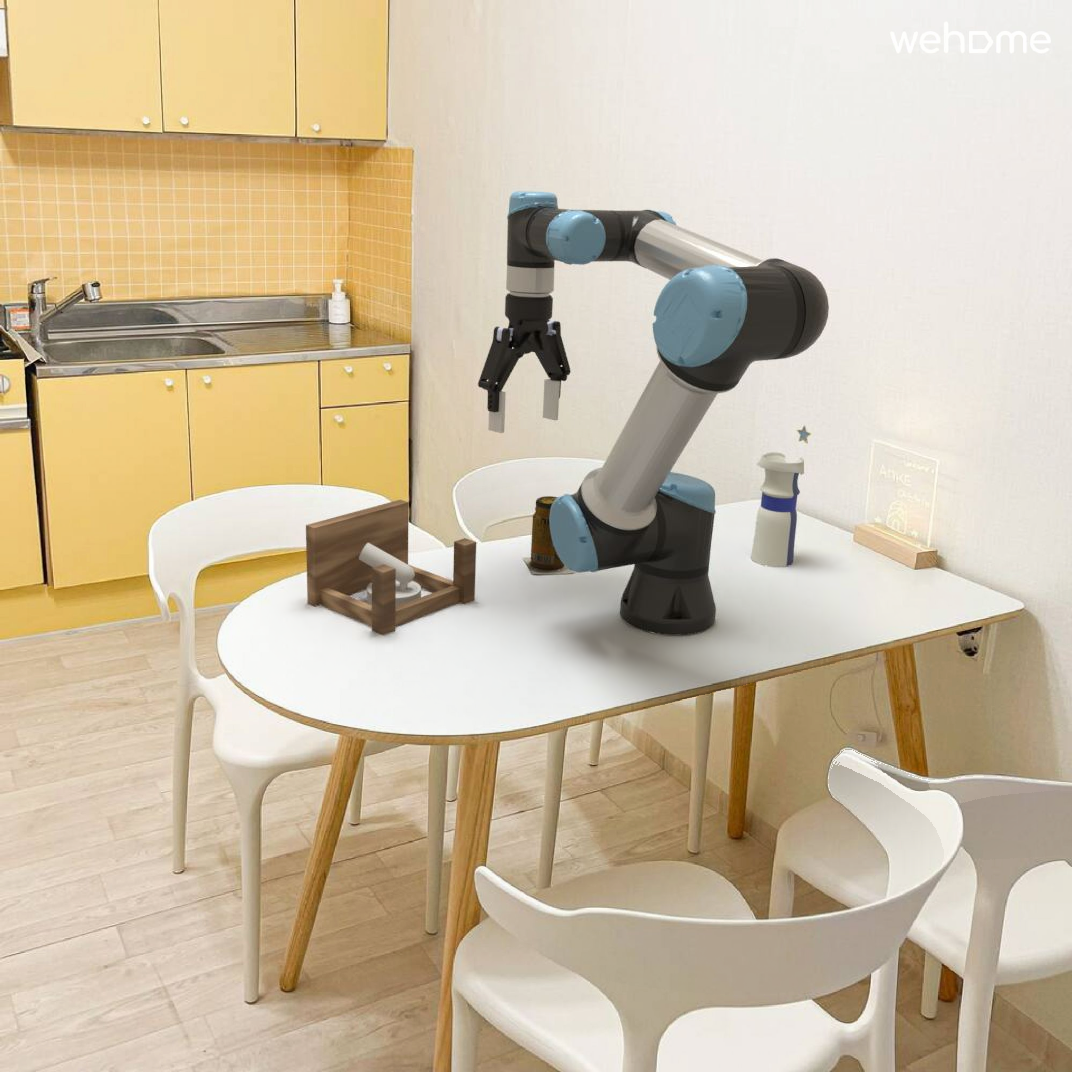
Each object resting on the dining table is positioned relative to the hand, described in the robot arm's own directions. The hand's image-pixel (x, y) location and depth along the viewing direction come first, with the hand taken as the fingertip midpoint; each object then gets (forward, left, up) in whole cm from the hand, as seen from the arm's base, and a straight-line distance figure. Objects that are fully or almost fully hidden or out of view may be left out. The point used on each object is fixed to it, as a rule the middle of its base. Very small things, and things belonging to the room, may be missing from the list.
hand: (523, 425), depth 189 cm
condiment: (0, -8, -27) cm, 28 cm away
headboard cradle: (+7, +23, -27) cm, 36 cm away
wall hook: (+7, +23, -27) cm, 36 cm away
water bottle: (-26, -41, -27) cm, 56 cm away
